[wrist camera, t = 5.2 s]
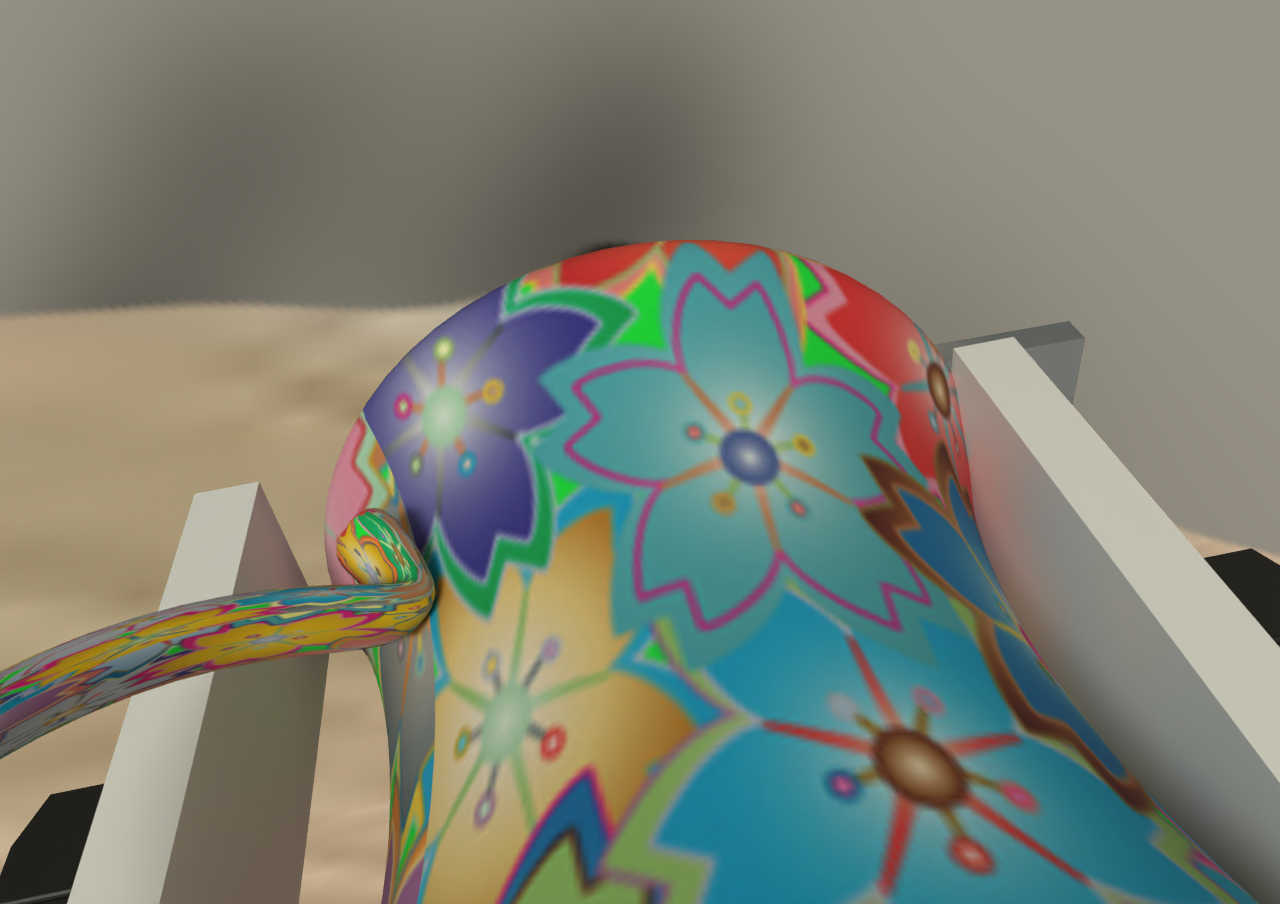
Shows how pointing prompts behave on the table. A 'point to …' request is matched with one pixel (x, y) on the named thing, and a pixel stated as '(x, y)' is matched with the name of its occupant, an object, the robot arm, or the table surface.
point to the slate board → (1040, 351)
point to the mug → (679, 614)
